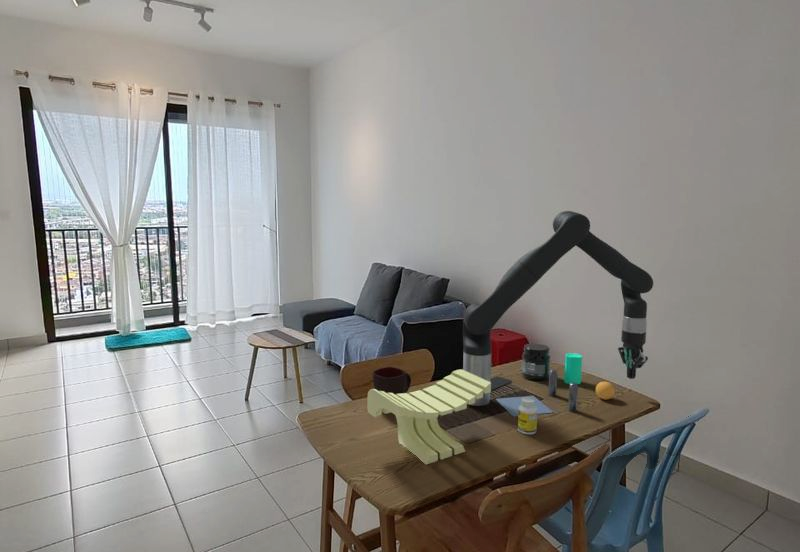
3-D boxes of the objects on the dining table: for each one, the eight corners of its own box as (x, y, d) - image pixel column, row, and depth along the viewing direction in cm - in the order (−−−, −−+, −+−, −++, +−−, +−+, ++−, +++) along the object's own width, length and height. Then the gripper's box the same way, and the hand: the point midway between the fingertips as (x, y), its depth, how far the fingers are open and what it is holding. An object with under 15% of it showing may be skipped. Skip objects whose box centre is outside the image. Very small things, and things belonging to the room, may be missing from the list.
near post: (571, 412, 158) (572, 385, 157) (566, 409, 160) (568, 382, 159) (578, 411, 158) (579, 385, 157) (574, 408, 161) (575, 382, 160)
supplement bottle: (514, 428, 147) (515, 397, 145) (529, 425, 149) (530, 394, 147) (524, 436, 142) (526, 403, 140) (540, 433, 144) (541, 401, 142)
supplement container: (544, 372, 196) (546, 343, 194) (553, 381, 186) (554, 350, 184) (518, 372, 196) (519, 343, 194) (525, 381, 185) (526, 351, 184)
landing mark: (512, 416, 155) (512, 415, 155) (495, 399, 168) (495, 398, 168) (553, 412, 158) (553, 412, 158) (533, 396, 171) (533, 395, 171)
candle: (582, 385, 182) (583, 354, 180) (565, 384, 183) (566, 353, 181) (579, 379, 187) (581, 349, 186) (563, 378, 189) (564, 348, 187)
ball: (601, 402, 165) (603, 385, 165) (591, 396, 171) (592, 379, 170) (617, 401, 167) (618, 384, 166) (607, 394, 172) (608, 378, 172)
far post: (550, 396, 171) (551, 372, 169) (547, 394, 173) (548, 369, 172) (557, 396, 171) (558, 371, 170) (553, 393, 174) (555, 369, 172)
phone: (513, 380, 185) (489, 390, 175) (513, 383, 185) (489, 392, 175) (497, 375, 191) (472, 385, 181) (497, 378, 191) (472, 387, 181)
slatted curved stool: (453, 422, 151) (454, 366, 148) (489, 443, 137) (491, 382, 135) (367, 447, 135) (367, 385, 133) (398, 474, 122) (398, 405, 119)
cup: (368, 407, 162) (368, 372, 160) (398, 395, 171) (399, 362, 170) (388, 416, 155) (388, 379, 153) (419, 404, 164) (419, 369, 163)
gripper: (612, 325, 173) (609, 372, 176) (637, 334, 160) (634, 385, 163) (631, 324, 175) (628, 371, 177) (657, 333, 162) (653, 383, 164)
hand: (631, 378), depth 170 cm, fingers closed
